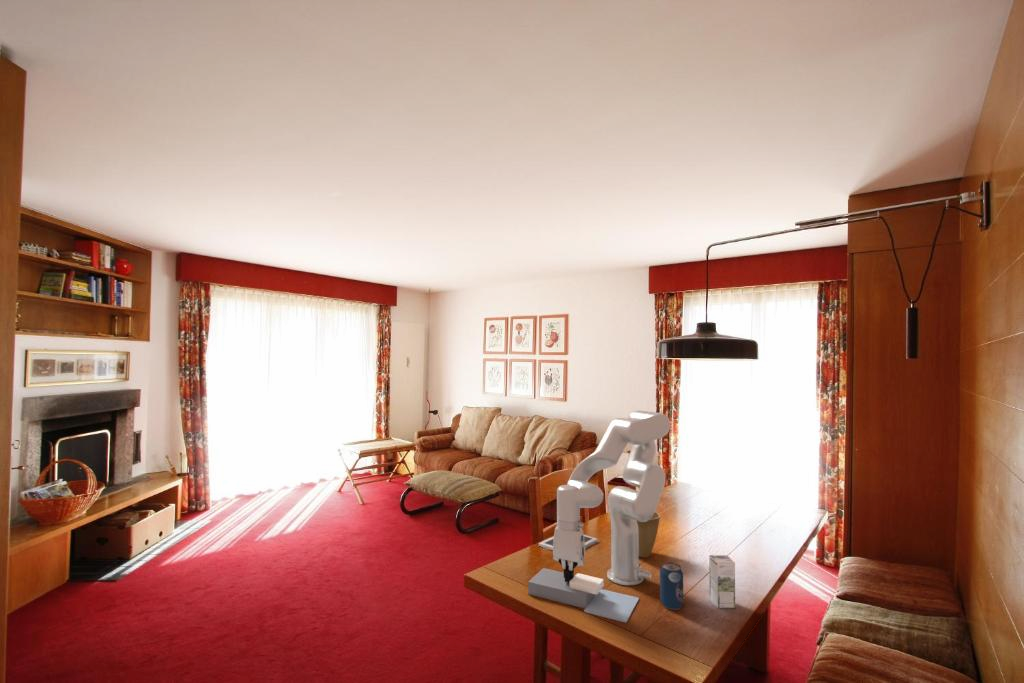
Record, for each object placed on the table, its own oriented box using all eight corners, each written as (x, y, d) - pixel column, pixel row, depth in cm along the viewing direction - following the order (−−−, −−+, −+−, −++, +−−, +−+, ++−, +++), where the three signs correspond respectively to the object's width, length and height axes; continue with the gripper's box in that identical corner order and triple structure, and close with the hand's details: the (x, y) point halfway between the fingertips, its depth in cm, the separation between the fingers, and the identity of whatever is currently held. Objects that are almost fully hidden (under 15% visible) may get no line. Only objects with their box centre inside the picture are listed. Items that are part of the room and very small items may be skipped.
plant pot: (657, 564, 179) (656, 521, 180) (618, 557, 186) (617, 516, 186) (662, 550, 193) (662, 510, 194) (625, 544, 199) (625, 506, 200)
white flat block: (603, 585, 154) (603, 579, 154) (596, 594, 148) (596, 588, 148) (577, 579, 158) (577, 573, 158) (569, 587, 152) (569, 581, 152)
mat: (639, 599, 153) (639, 597, 153) (626, 622, 139) (626, 621, 139) (600, 590, 159) (600, 588, 159) (583, 611, 145) (583, 610, 145)
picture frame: (567, 534, 213) (538, 548, 197) (567, 528, 213) (538, 541, 197) (597, 543, 202) (570, 558, 187) (597, 536, 202) (570, 551, 187)
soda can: (683, 612, 145) (682, 572, 145) (659, 608, 147) (658, 568, 148) (683, 602, 151) (683, 563, 152) (661, 598, 154) (660, 560, 154)
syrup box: (726, 599, 153) (725, 553, 153) (736, 609, 147) (735, 561, 147) (709, 600, 152) (708, 554, 153) (718, 609, 146) (717, 561, 147)
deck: (598, 592, 157) (598, 580, 158) (586, 608, 147) (586, 595, 147) (543, 579, 167) (543, 567, 167) (528, 594, 156) (528, 581, 156)
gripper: (593, 524, 157) (594, 581, 156) (552, 517, 164) (552, 571, 163) (585, 531, 150) (586, 590, 149) (543, 523, 157) (543, 580, 156)
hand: (568, 580), depth 156 cm, fingers closed
